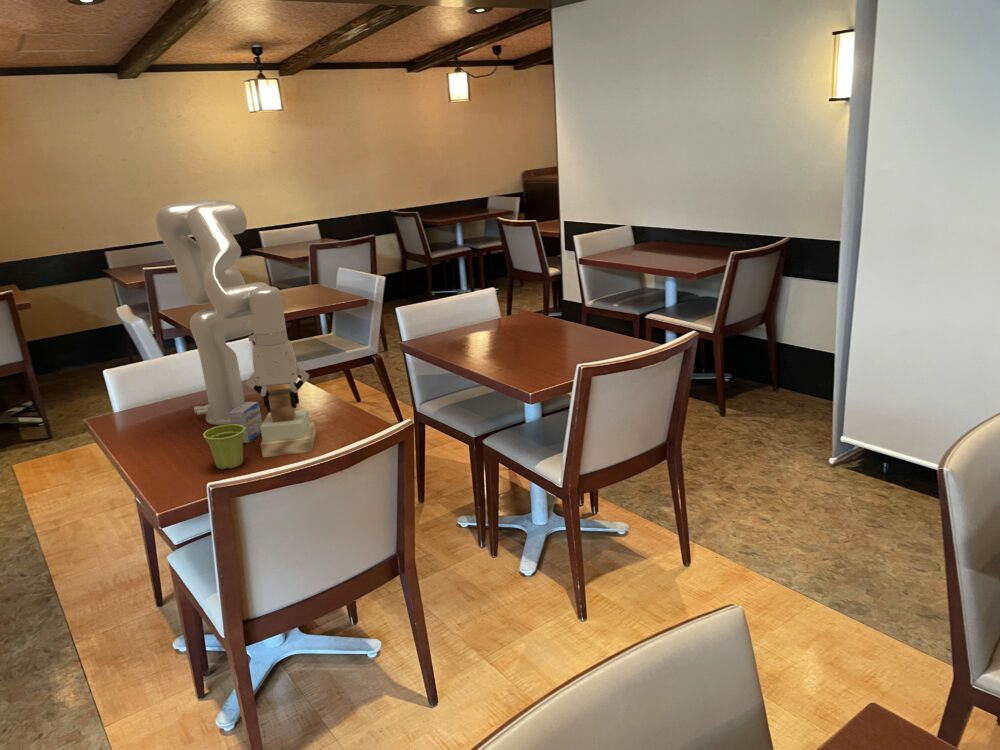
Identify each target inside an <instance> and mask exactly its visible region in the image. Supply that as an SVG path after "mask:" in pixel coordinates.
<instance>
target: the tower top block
mask: <svg viewBox="0 0 1000 750" xmlns="http://www.w3.org/2000/svg"><path fill="white" fill-rule="evenodd" d="M310 419H311V418H310V414H309V409H307V408H306V409H298V410H297V409H295V416H294V419H293V420H292V421H283V422H274V423H273V422H272V416H271V412H268V413H267V414H266V417H265V419H264V420H263V421H262V425H261V427H260V428H261V438H262V439H263V442H269V441H280V440H291V439H303V438H304V437H305V435H306V433H307V430H308V428H309V425H310V422H311V420H310Z"/></svg>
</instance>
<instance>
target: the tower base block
mask: <svg viewBox="0 0 1000 750" xmlns="http://www.w3.org/2000/svg"><path fill="white" fill-rule="evenodd" d="M316 431H317V430H316V425H315V421H310V425H309V428H308V430H307V433H306V435H305V437H304V438H303V439H291V440H280V441H269V442H263V439H262V440H261V443H260V450H261V454H262V458H269V457H277V456H286V455H293V454H303V453H312V452H313V450H314V445H315V441H316V436H317V432H316Z"/></svg>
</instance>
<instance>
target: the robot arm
mask: <svg viewBox="0 0 1000 750" xmlns="http://www.w3.org/2000/svg"><path fill="white" fill-rule="evenodd" d="M155 217H156V218H155V220H156V227H157V232H158V234H159V237H160V239H161V241H162V243H163V244H164V246H165V247H166V249H167V250H168V252H169V253H170V255H171V257H172V258H173V261H174V264H175V267H176V270H177V272H178V276H179V280H180V283H181V285H182V288H183V290H184V293H185V294H184V295H185V297H186V298H187V300H188V302H189V303H190V304H192V305H194V306H201V305H208V304H211V305H212V306H213V307H208V308H204V309H201V310H199V311H197V312H195V313H194V314H193V315H191V318H190V321H189V328H190V330H191V334H192V336H193V339H194V342H195V345H196V347H197V351H198V356H199V359H200V364H201V365H200V366H201V368H202V369H201V370H202V374H203V380H204V381H203V382H204V384H205V390H206V391H205V392H206V395H207V401H208V403H207V404H205V405H198V406H193V409H194V414H196V415H197V416H199V415H206V416H205V420H206V423H208V424H210V425H215V426H221V425H228V424H231V423H230V418H229V412H231V411H232V410H234V409H235V408H237V407H238V406H240V405H241V404H243V403H244V402H246V400H245V394H244V388H243V383H242V378H241V377H242V376H241V372H240V366H239V360H238V355H237V354H236V352H235V350H234V349H232V347H230V346H229V345H228V344H226V342H227V341H230V340H233V339H237V338H242V337H245V336H248V341H249V342H254V345H253V346H252V365H253V373H252V374H251V375H249V378H248V379H247V381H246V384H245V385H246V386H248V387H250V388H251V389H253V390H254V391H255V392H257V393H258V394H259V395H260V396H261V397H262V400H263V401H262V402H263V406H264V408H266V409H267V412H271V410H270V404H269V398H268V396H269V394H270V391H268V389H269V387H270V386H279V385H288V386H289V388H291V389H292V392H291V398H292V405H293V408H294V409H297V406H298V405H299V404H300V399H299V393H298V392H299V390H300V389H301V387H302V386H303V385H304V384H305V383H306V382H307V381H308V380H309V378H310V374H309V373H307V372H306V371H305V370H304V369H303V368H301V367H300V366H298V362H297V361H298V360H297V358H296V353H295V351H294V346H293V344H292V341H291V340H289V337H288V332H287V325H286V319H285V313H284V306H283V298H282V293H281V291H280V289H279V288H278V287H276V286H270V285H269V284H267V283H265V282H260V281H259V282H251V283H246V281H245V279H244V277H243V275H242V273H241V271H240V270H239V269H238V268H237V267H236V266H234V264H236V263H237V262H238V260H239V259H240V258H241V255H242V248H241V246H240V245H239V243H238V242H237V239H236V238H235V236H234V235H239V234H242V233H244V232H245V231H246V230H247V226H248V223H247V222H248V221H247V216H246V213H245V211H244V210H243V208H242V207H241V206H240V205H238V203H236V202H235V201H229V200H221V199H210V200H209V199H208V200H207V199H206V200H198V201H187V202H179V203H172V204H168V205H166V206H163V207H161V208H160V209H159V210H158V211H157V213H156V215H155ZM191 235H192V236H193V237H194V238H195V239H193V238H191V237H189V236H191ZM299 376H300V379H299ZM298 379H299V380H298Z"/></svg>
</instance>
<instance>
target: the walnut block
mask: <svg viewBox="0 0 1000 750" xmlns="http://www.w3.org/2000/svg"><path fill="white" fill-rule="evenodd" d="M291 392H292V389H291V388H290V387H288V388H279V389H277V388H276V389H271V390H270V391H269V393H270V394H269V396H268V398H269V404H270V413H271V416H272V422H273V423H274V422H283V421H292V420H293V419H294V416H295V410H296V408H293V405H292V398H291Z"/></svg>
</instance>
